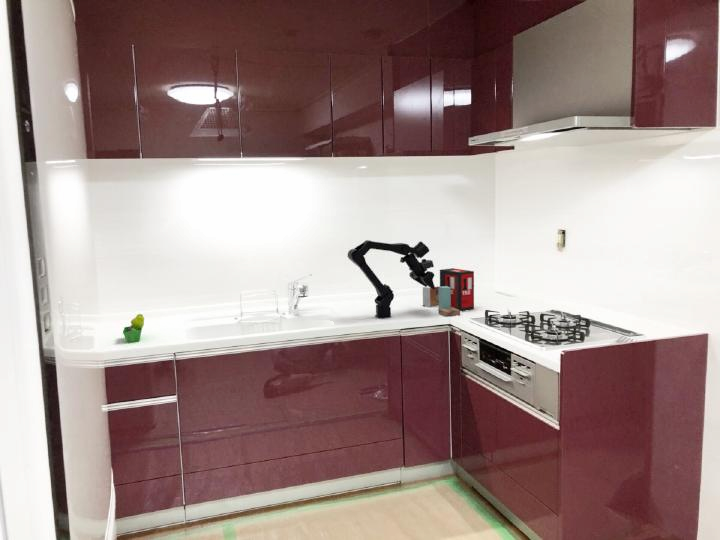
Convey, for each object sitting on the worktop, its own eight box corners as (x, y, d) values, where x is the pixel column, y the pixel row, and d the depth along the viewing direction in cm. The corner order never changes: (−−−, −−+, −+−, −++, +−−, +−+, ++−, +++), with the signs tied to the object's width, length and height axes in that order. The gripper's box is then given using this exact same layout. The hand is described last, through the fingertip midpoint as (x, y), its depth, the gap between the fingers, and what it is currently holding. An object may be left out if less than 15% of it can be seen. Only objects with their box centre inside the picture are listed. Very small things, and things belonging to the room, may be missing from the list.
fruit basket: (125, 337, 264) (123, 313, 262) (146, 335, 267) (144, 311, 265) (123, 343, 253) (121, 318, 252) (145, 341, 256) (143, 316, 254)
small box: (430, 307, 313) (429, 287, 312) (422, 305, 318) (422, 286, 316) (440, 305, 318) (440, 286, 317) (432, 303, 323) (432, 285, 321)
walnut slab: (445, 316, 289) (445, 311, 289) (438, 313, 296) (438, 308, 296) (460, 315, 291) (460, 310, 291) (452, 312, 299) (452, 307, 299)
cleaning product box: (440, 306, 314) (439, 269, 312) (452, 304, 319) (452, 268, 316) (460, 311, 300) (460, 272, 298) (473, 309, 305) (473, 271, 302)
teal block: (442, 312, 300) (442, 288, 299) (438, 310, 304) (438, 286, 303) (450, 311, 302) (450, 287, 300) (446, 309, 306) (446, 286, 304)
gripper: (433, 255, 287) (450, 280, 292) (418, 252, 305) (434, 275, 309) (416, 270, 285) (433, 294, 290) (402, 265, 303) (418, 288, 307)
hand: (430, 287), depth 299 cm, fingers open, 9 cm apart
